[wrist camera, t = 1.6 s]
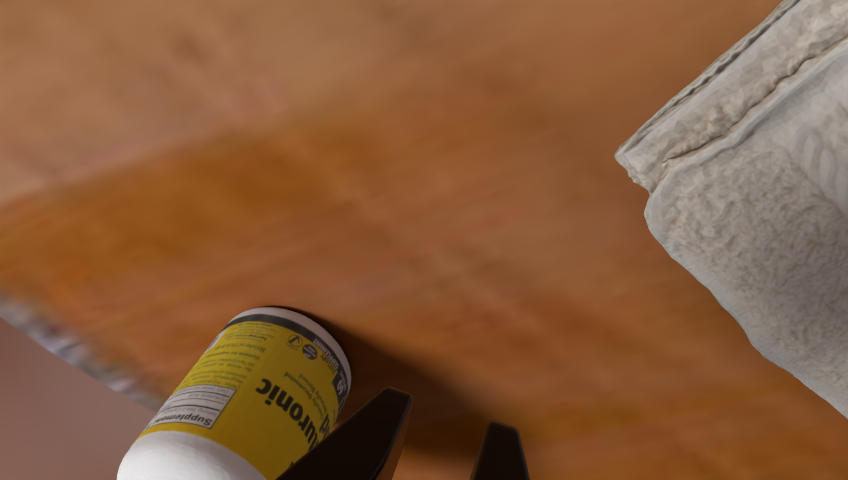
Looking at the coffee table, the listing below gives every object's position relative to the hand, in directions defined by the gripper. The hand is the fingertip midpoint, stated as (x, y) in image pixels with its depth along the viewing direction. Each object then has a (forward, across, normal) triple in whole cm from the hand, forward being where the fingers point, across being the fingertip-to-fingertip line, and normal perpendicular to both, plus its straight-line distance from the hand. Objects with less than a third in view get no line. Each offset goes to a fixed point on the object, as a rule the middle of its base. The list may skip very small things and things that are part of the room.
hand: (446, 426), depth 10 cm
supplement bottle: (+12, +7, +13) cm, 19 cm away
